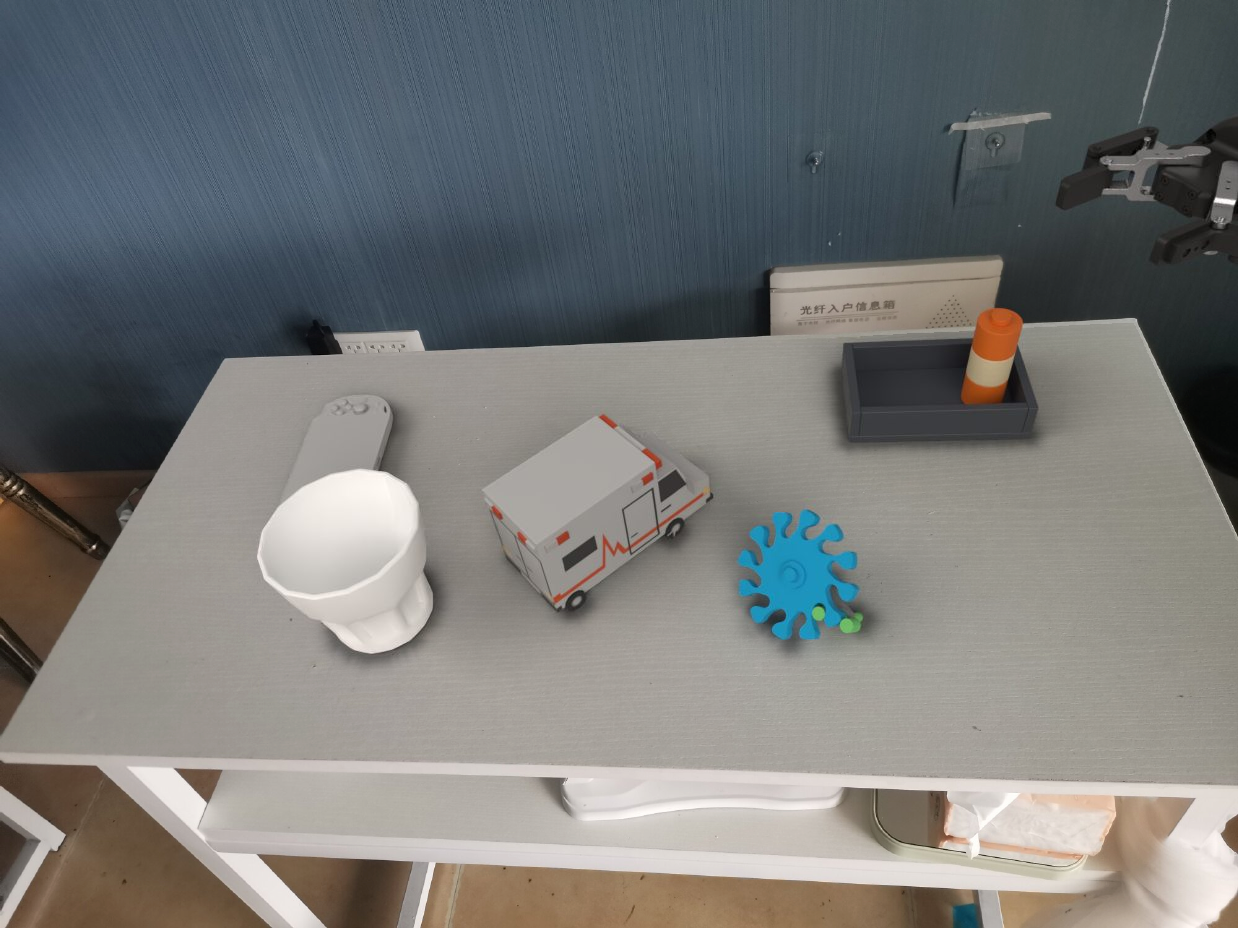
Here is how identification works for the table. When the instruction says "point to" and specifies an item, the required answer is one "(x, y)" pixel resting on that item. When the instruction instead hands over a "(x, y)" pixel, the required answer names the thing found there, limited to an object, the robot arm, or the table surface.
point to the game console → (342, 440)
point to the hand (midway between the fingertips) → (1106, 223)
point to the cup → (352, 558)
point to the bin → (927, 394)
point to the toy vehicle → (591, 506)
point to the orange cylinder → (991, 356)
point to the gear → (801, 578)
